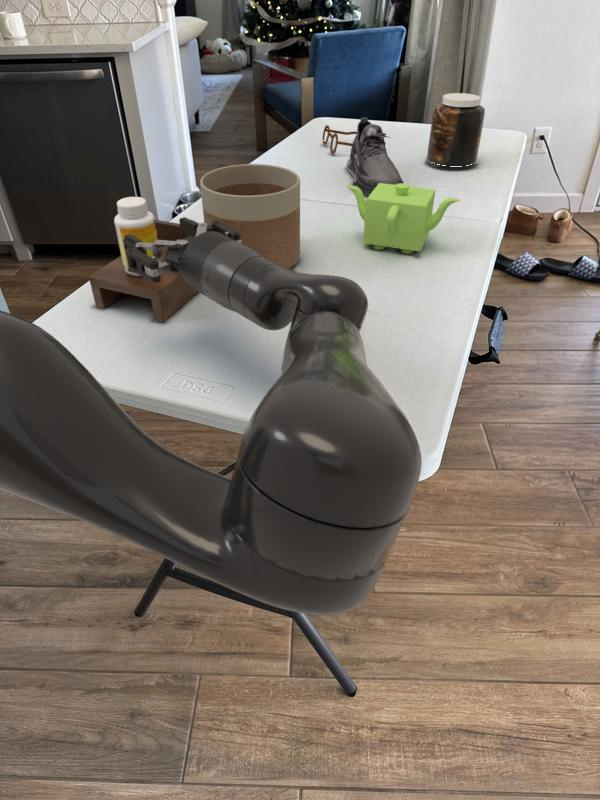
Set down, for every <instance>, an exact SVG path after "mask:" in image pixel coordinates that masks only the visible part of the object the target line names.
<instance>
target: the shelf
mask: <svg viewBox="0 0 600 800" xmlns="http://www.w3.org/2000/svg"><path fill="white" fill-rule="evenodd" d="M155 224H156V231H157V237H158V240H167V241H177V240H182V239H184V238H186V237H188V236H186V235H184V234H182V232H181V229H180V223H177V222H172V221H166V220H161V219H160V220H159V219H155ZM162 252H163V258H164V260H165V261H166V252H167V248H162ZM160 276H161V281H160V282H156V283H154V282H151V281H149V280H147V279H146V278H144V277H142V276H133V275H130V274H128V273H127V272H126V271H125V270H124V266H123V262H122V257H121V255H120V256H118V257H117V258H115V259H113V260H112V261H111V262H109V263H108V264H106V265H104V266H103V267H101V268H100V269H98V270H97V271H95V272H94V273H92V274H90V275H89V276H88V280H89V284H90V289H91V292H92V296H93V300H94V305H95V307H96V308H100V309H105V308H107V307H108V306H110V305H111V304H113V302H115V301H117V300H118V299H119V298H121V296H123V295H125V294H126V295H132V296H136V297H140V298H145V299H149V300H150V301H151V306H152V313H153V319H154V321H155V322H159V323H165V322H166V321H167V320H168V319H169V318H170V317H172V316H173V314H175V313H176V312H177V311H179V309H181V308H182V307H183V306H184V305H185V304H186V303H187V302H188V301H190V300H191V299H193V298H194V297H195V296H196V295H197V294H198V293H199V292H198V291H197V290H195V289H193V288H192V287H190V286H189V285H188V284H187V282H186V281H185V280H184V279H183V277H182V276H181V275H179V274H175V273H171V272H169V271H168V272H166V273H163V274H160Z"/></svg>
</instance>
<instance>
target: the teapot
mask: <svg viewBox="0 0 600 800" xmlns="http://www.w3.org/2000/svg"><path fill="white" fill-rule="evenodd" d="M345 187H346V188H347V189H349V190H350V191H352V194H354V196H355V199H356V204H357V208H358V213H359V216H360V217H361V219H362V220H363V221H364V222H363V223H364V224H363V234H362V235H363V237H362V244H366V245H372V248H373V249H374V250H379V251H380V250H385V248H393V249H400V253H402V254H405V255H410V254H412V253H413V252H421V251H422V248H423V246H424V245H425V242H426V240H427V238H428V236H429V235H430V232H431V231H433V230H435V228H436V227H437V226H438V225H439V224H440V222H441V221H442V219H443V217H444V215H445V212H446V211H447V209H448V208H449V206H451V205H453V204H454V203H457V202H460V201H461V199H460V198H455V197H450V198H445V199H443V200H442V202H440V204H439V206H438V208H437V210H436V211H435V212H434V213H433V209H434V202H435V195H436V189H433V188H425V187H417V186H410V185H409V184H408V183H404V182H403V183H399V184H396V185H392V184H384V183H379V184H378V185H377V186H376V188H375V189H374V190H373V191H372V193H371V194H370V195H369V194H368V197H367V198H366V197H365V194H363V192H362V191H361V189H360V188H358V187H356V186H353V185H346V186H345ZM365 198H366V199H365Z"/></svg>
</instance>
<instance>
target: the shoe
mask: <svg viewBox="0 0 600 800" xmlns="http://www.w3.org/2000/svg"><path fill="white" fill-rule="evenodd" d="M356 132H357V134H355V137H354V139H353V141H352V144H353V146H351V148H350V155H349V159H348V161H347V163H346V168H347V170H348V172H349V173H350V174H351V176H352V186H356V187H358V188H360V189H361V191H362V192H363V195H368V196H369V195H370V194H371V193H372V191H373V190H374V189H375V188H376V186H377V185H378V184H379V183H384V184H392V185H396V184H399V183H404V181H403V179H402V177H401V174H400V172H399V170H398V169H397V168H396V165H395V164H394V162H393V160H392V159H391V158H390V157H389V155H388V152H387V147H386V141H385V138H388V139H391V137H390V136H387V133H385V132H383V129H382V127H381V125H378V124H374V123H372V122H371V121H369V117H360V121H359V122H358V123H357V128H356Z"/></svg>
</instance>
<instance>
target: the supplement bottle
mask: <svg viewBox="0 0 600 800" xmlns="http://www.w3.org/2000/svg"><path fill="white" fill-rule="evenodd" d="M116 207H117V214H116V215H115V216H114V218H113V223H114V228H115V232H116V237H117V242H118V247H119V252H120V256H121V257H122V262H123V266H124V270H125V271H126V272H127V273H128V274H130V275H133V276H140V275H138V274H137V273H135V272H133V271H131V270H129V267H128V262H127V257H126V252H125V248H124V243H123V240H124V236H125V235H128V234H131V235H132V236H134V237H136V238H138V239H139V240H141V241H143V242H144V243H154V242H155V241H156V240H158V237H157V231H156V224H155V220H156V219H155V215H154V214H153V213H152V212H151V211H150V210H148V205H147V201H146V199H145V198H143V197H140V196H128V197H127V196H126V197H123V198H121V199H119V200H118V201H117V202H116ZM146 251H147V255H148V256H150V257H153V256H154V255H153V252H152V251H149V250H146Z"/></svg>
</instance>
